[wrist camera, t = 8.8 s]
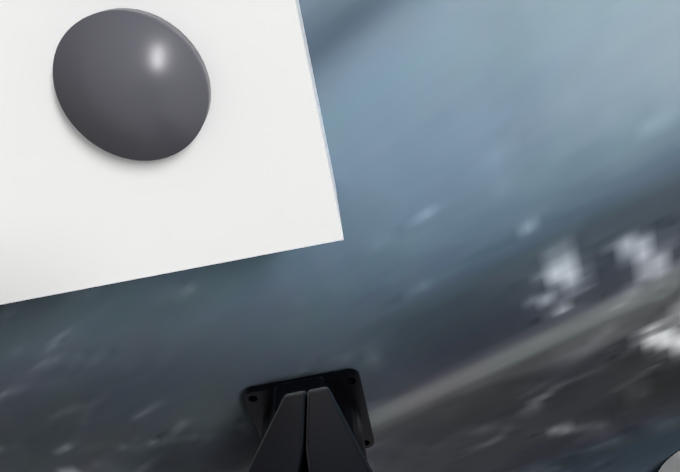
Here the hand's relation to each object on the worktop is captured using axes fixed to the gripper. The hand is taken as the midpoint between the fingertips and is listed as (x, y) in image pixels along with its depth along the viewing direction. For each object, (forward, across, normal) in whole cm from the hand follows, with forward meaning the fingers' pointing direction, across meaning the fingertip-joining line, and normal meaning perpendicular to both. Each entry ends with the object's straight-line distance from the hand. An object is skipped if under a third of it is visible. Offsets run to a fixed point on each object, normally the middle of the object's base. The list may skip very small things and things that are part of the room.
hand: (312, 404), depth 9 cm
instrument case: (+13, +6, -3) cm, 15 cm away
